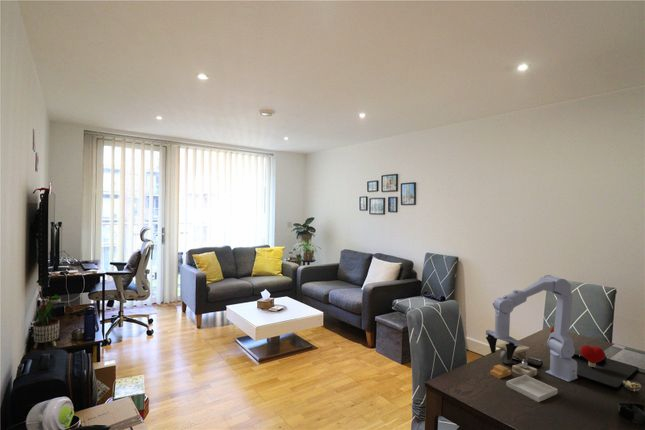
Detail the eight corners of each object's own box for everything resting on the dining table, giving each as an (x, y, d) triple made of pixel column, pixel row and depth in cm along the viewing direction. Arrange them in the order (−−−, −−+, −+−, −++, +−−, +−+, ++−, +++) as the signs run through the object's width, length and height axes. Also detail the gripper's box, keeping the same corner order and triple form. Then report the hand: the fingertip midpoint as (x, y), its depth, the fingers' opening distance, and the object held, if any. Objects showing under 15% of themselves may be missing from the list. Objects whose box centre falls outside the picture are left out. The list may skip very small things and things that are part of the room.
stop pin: (527, 373, 152) (528, 360, 152) (525, 374, 151) (525, 361, 151) (523, 371, 154) (523, 358, 154) (520, 372, 153) (521, 359, 153)
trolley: (528, 362, 164) (529, 347, 164) (511, 368, 157) (511, 352, 157) (510, 355, 172) (511, 341, 171) (493, 360, 165) (493, 345, 165)
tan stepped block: (499, 379, 147) (499, 371, 147) (490, 374, 151) (490, 367, 151) (510, 375, 151) (511, 367, 151) (501, 371, 155) (501, 363, 155)
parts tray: (557, 393, 136) (557, 389, 136) (538, 402, 129) (538, 396, 129) (524, 379, 147) (524, 374, 147) (506, 386, 141) (506, 381, 141)
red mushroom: (582, 368, 158) (583, 347, 158) (577, 362, 165) (578, 342, 165) (607, 372, 155) (608, 351, 155) (601, 366, 161) (602, 345, 161)
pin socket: (536, 374, 151) (537, 369, 151) (527, 378, 148) (527, 372, 148) (521, 368, 157) (521, 362, 157) (512, 371, 154) (512, 365, 154)
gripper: (481, 321, 155) (480, 351, 155) (512, 332, 142) (511, 364, 143) (491, 319, 158) (490, 348, 159) (522, 329, 146) (521, 361, 146)
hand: (501, 356), depth 151 cm, fingers open, 7 cm apart
